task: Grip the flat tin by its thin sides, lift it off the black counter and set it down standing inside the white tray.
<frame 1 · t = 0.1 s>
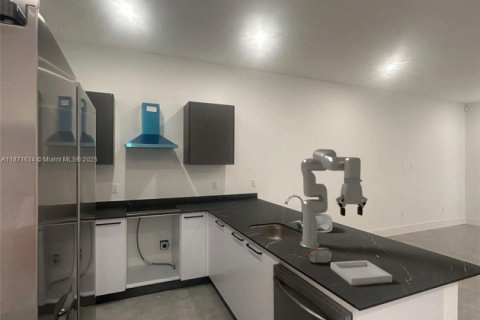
hand: (351, 215, 122), 31 cm above the counter, tool pointing down, fingers open, 9 cm apart
white tray: (359, 274, 124), on the counter
bowl: (318, 229, 206), on the counter
tin: (319, 262, 139), on the counter
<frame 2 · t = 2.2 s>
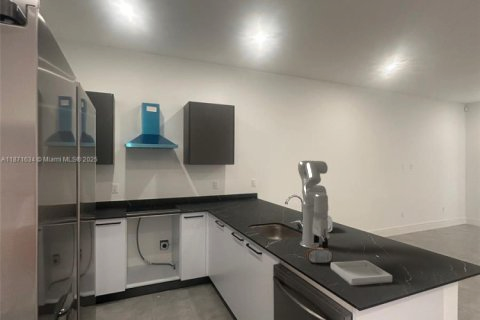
hand: (320, 245, 138), 10 cm above the counter, tool pointing down, fingers open, 9 cm apart
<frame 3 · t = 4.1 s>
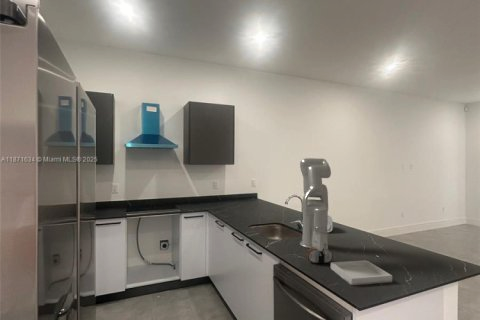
hand: (319, 260, 139), 1 cm above the counter, tool pointing down, fingers closed on tin, 3 cm apart
tin: (319, 262, 139), on the counter, touching gripper
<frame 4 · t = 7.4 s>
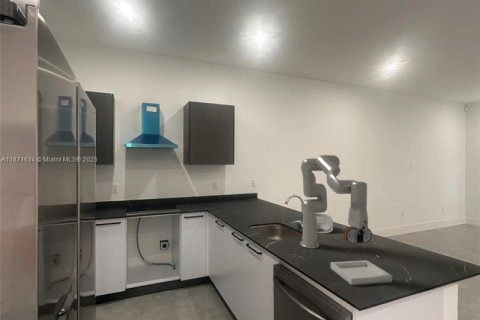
hand: (358, 240, 125), 17 cm above the counter, tool pointing down, fingers closed on tin, 2 cm apart
tin: (358, 243, 125), point 16 cm above the counter, touching gripper
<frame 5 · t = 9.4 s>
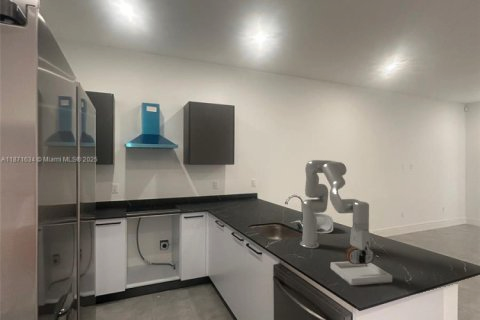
hand: (360, 261, 124), 7 cm above the counter, tool pointing down, fingers closed on tin, 2 cm apart
tin: (360, 263, 124), point 6 cm above the counter, touching gripper
when the fingers open (3 cm above the counter, at t = 10.8 s): tin drops 1 cm, resting on white tray.
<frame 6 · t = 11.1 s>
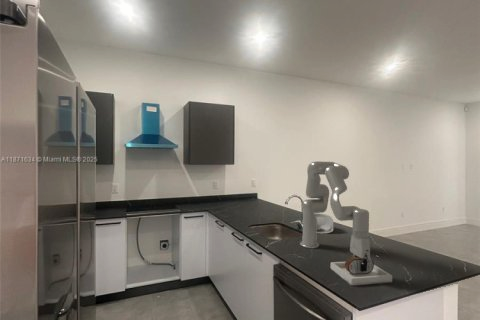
hand: (359, 268, 124), 3 cm above the counter, tool pointing down, fingers open, 4 cm apart
tin: (359, 273, 124), point 1 cm above the counter, touching white tray
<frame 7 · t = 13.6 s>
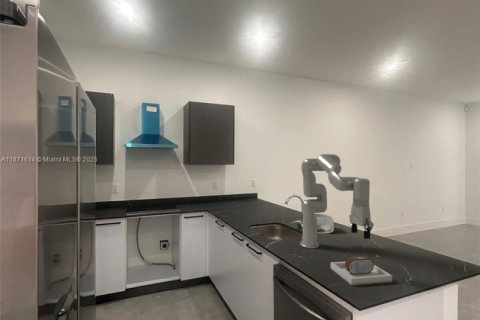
hand: (360, 235, 124), 20 cm above the counter, tool pointing down, fingers open, 9 cm apart
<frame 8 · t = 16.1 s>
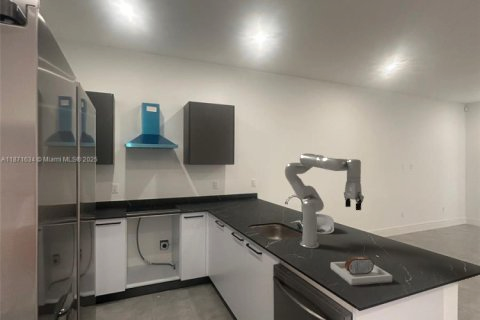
hand: (353, 208, 144), 30 cm above the counter, tool pointing down, fingers open, 9 cm apart
at the end: tin inside the target area on the white tray (0.1 cm from its centre), point 0.6 cm above the white tray's base; the gripper is holding nothing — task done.
